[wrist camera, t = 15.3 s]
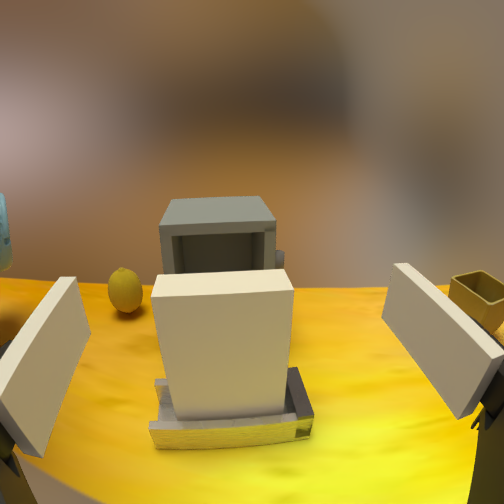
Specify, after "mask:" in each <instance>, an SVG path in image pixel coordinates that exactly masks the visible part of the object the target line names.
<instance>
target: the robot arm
mask: <svg viewBox="0 0 504 504" xmlns="http://www.w3.org/2000/svg"><path fill="white" fill-rule="evenodd" d="M12 258H13V257H12V248H11V241H10V234H9V224H8V216H7V208H6V201H5V197H4V195H3V194H2V193H0V272H2V271H4V270H7V269H8V268H10V266H11V265H12V260H13V259H12ZM382 319H383V320H384V321H385V323H386V324H387V325H388V326H389V328H390V329H391V330H392V332H393V333H394V334H395V335H396V337H397V338H398V339H399V341H400V342H401V343H402V345H403V346H404V347H405V348H406V350H407V351H408V352H409V354H410V355H411V356H412V358H413V359H414V360H415V362H416V363H417V364H418V366H419V367H420V368H421V370H422V371H423V373H424V374H425V375H426V377H427V378H428V379H429V381H430V382H431V383H432V385H433V386H434V388H435V389H436V390H437V392H438V393H439V395H440V396H441V397H442V399H443V400H444V402H445V403H446V404H447V406H448V407H449V409H450V410H451V412H452V413H453V414H454V416H455V417H456V419H457V420H459V419H461V418H463V417H465V416H468V415H470V414H472V413H473V411H474V410H475V408H476V407H477V405H478V403H479V402H481V403H482V404H483V406H484V407H483V409H482V410H481V412H480V413H479V415H478V416H477V418H476V419H475V421H474V422H473V424H472V426H471V429H473V428H474V427H475V426H476V424H477V423H478V422H479V427H478V428H477V430H479V432H478V442H477V450H476V458H475V465H474V471H473V477H472V483H471V488H470V493H469V497H468V502H467V504H504V346H503V345H502V344H501V343H500V342H499V341H498V340H497V339H496V338H495V337H494V336H493V335H490V332H489V331H488V330H486V329H484V327H483V326H482V325H481V324H480V323H479V322H478V321H477V320H476V319H474V318H472V317H471V316H469V315H467V314H465V313H464V312H463V311H462V310H461V309H460V308H459V307H458V306H457V305H456V304H455V303H453V302H452V301H451V300H450V299H449V298H448V297H447V296H446V295H444V294H443V293H442V292H441V291H440V290H439V289H438V288H436V287H435V286H434V285H433V284H432V283H431V282H430V281H428V280H427V279H426V278H425V277H424V276H423V275H421V274H420V273H419V272H418V271H417V270H415V269H414V268H413V267H411V265H409V264H408V263H400V264H393V269H392V274H391V278H390V283H389V287H388V292H387V296H386V301H385V305H384V309H383V313H382ZM90 334H91V331H90V328H89V325H88V321H87V318H86V314H85V310H84V307H83V303H82V299H81V295H80V291H79V287H78V283H77V279H76V277H60V278H59V279H58V281H57V282H56V283H55V284H54V285H53V287H52V288H51V289H50V291H49V292H48V293H47V294H46V296H45V297H44V298H43V300H42V301H41V302H40V304H39V305H38V306H37V308H36V309H35V310H34V312H33V313H32V314H31V316H30V317H29V318H28V320H27V321H26V323H25V324H24V325H23V327H22V328H21V330H20V331H19V333H18V334H17V335H16V337H15V338H14V340H9V341H8V342H7V343H5V344H4V345H3V346H2V347H1V348H0V504H37V501H36V499H35V497H34V495H33V493H32V491H31V489H30V487H29V485H28V483H27V480H26V478H25V476H24V474H23V471H22V469H21V467H20V464H19V461H18V459H17V457H16V455H15V454H14V452H13V451H12V449H13V447H14V444H15V443H16V444H17V446H18V447H19V448H20V449H21V451H22V452H23V453H24V454H28V455H32V456H36V457H40V458H43V456H44V453H45V450H46V447H47V444H48V441H49V438H50V435H51V432H52V429H53V426H54V423H55V420H56V418H57V415H58V412H59V409H60V407H61V404H62V401H63V399H64V396H65V394H66V391H67V388H68V386H69V383H70V381H71V378H72V376H73V374H74V371H75V369H76V366H77V364H78V362H79V359H80V357H81V355H82V352H83V350H84V348H85V345H86V343H87V341H88V339H89V336H90Z"/></svg>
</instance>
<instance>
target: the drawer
mask: <svg viewBox="0 0 504 504" xmlns="http://www.w3.org/2000/svg"><path fill="white" fill-rule="evenodd" d="M155 389H156V393H157V396H158V400H159V403H160V406H159V415H158V421H150V422H149V432H150V434H151V437H152V439H153V442H154V444H155V447H156V449H216V448H233V447H246V446H257V445H266V444H274V443H282V442H289V441H296V440H302V439H308V438H309V436H310V432H311V427H312V423H313V418H314V413H313V410H312V407H311V404H310V401H309V399H308V396H307V393H306V390H305V387H304V385H303V382H302V379H301V376H300V373H299V371H298V368H297V367H292V368H288V370H287V381H286V391H285V400H284V410H283V414H281V415H273V416H264V417H254V418H242V419H228V420H210V421H177V418H176V414H175V411H174V407H173V403H172V399H171V395H170V390H169V386H168V382H167V379H155Z"/></svg>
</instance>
